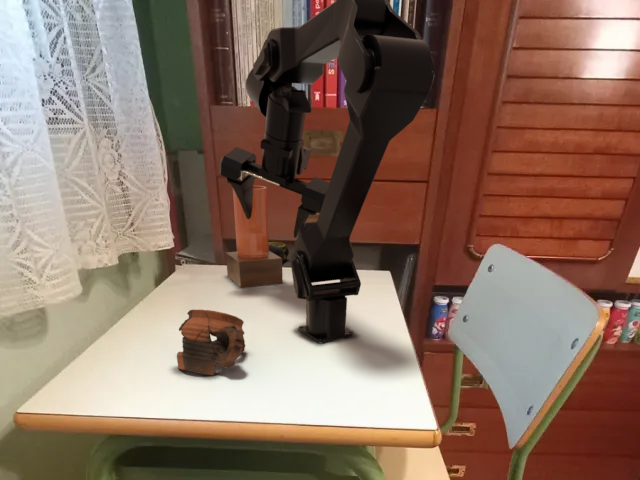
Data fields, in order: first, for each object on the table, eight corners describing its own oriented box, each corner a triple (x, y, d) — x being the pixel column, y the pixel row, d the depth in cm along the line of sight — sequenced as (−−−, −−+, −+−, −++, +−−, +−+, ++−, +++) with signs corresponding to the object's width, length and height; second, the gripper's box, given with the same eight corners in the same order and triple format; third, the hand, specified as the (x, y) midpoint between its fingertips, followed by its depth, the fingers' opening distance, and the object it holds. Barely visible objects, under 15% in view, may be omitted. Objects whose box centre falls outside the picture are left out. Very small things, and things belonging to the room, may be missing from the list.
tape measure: (254, 262, 113) (253, 246, 111) (266, 256, 119) (265, 240, 117) (281, 265, 111) (281, 248, 109) (292, 259, 117) (292, 243, 115)
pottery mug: (159, 367, 65) (168, 306, 64) (218, 378, 72) (226, 323, 71) (209, 373, 57) (220, 303, 56) (270, 385, 64) (279, 323, 63)
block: (282, 283, 99) (282, 258, 96) (240, 287, 96) (239, 261, 93) (267, 272, 106) (266, 249, 103) (227, 276, 102) (225, 252, 100)
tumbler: (270, 258, 96) (267, 189, 89) (237, 259, 95) (233, 189, 88) (267, 251, 101) (265, 185, 95) (236, 252, 100) (232, 185, 94)
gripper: (355, 137, 78) (335, 226, 90) (251, 98, 79) (245, 191, 91) (333, 161, 71) (314, 254, 83) (219, 118, 72) (216, 216, 84)
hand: (272, 227), depth 86 cm, fingers open, 9 cm apart
